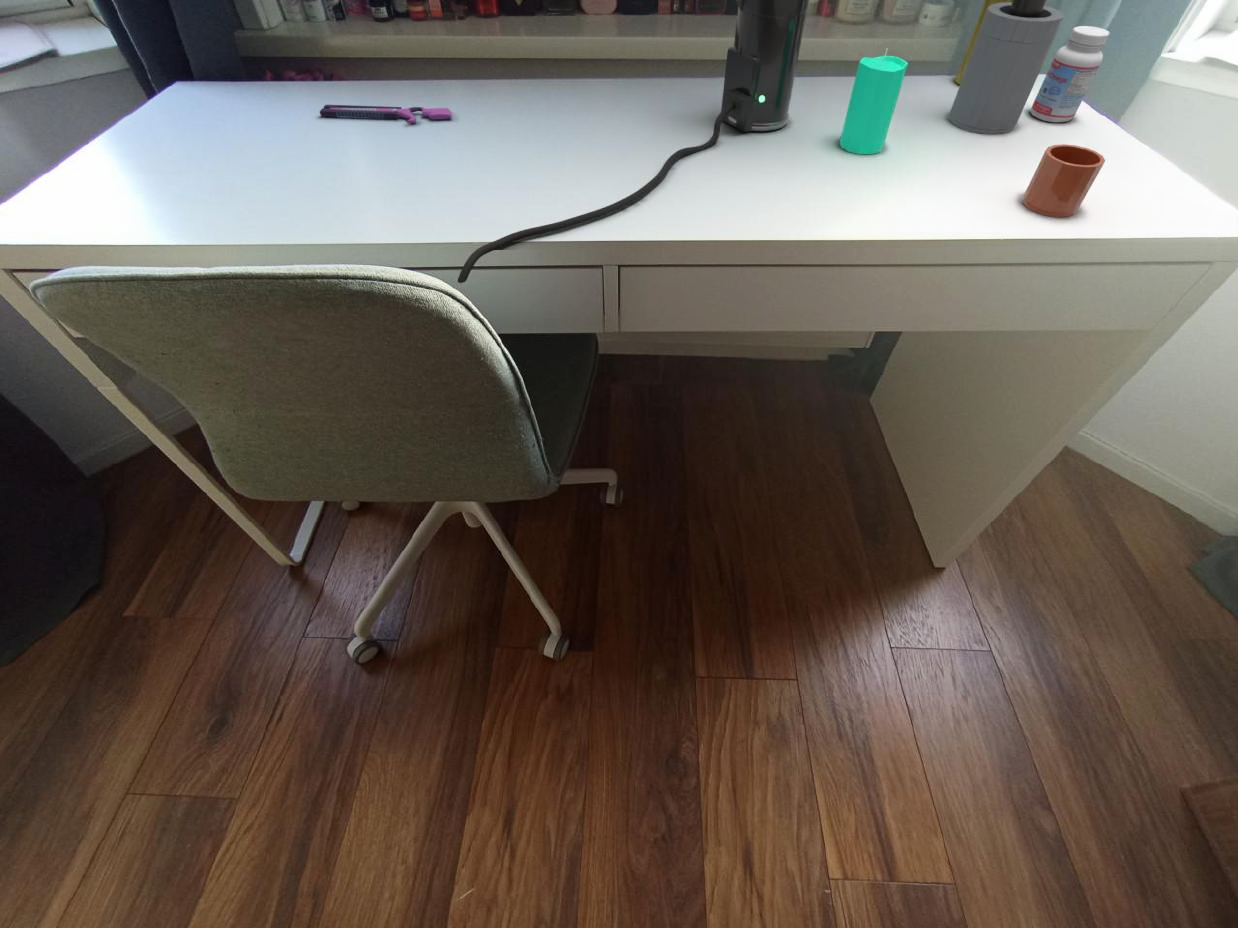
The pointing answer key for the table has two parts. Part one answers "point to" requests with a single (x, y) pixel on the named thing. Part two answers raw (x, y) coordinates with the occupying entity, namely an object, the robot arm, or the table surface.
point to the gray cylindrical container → (1003, 69)
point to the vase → (988, 1)
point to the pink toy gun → (383, 112)
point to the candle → (872, 103)
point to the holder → (1062, 180)
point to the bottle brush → (1027, 8)
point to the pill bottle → (1070, 75)
